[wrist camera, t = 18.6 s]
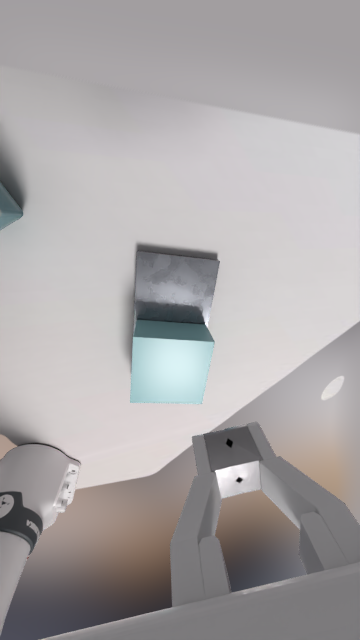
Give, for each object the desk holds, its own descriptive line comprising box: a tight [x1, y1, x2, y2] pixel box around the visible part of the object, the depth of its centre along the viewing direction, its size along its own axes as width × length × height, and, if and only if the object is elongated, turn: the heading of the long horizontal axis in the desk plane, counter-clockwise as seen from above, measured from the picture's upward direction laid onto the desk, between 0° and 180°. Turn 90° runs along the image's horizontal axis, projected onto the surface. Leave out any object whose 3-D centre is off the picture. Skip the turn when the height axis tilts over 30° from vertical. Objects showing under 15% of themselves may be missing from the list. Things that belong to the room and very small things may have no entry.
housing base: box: [133, 251, 220, 335], centre depth 36 cm, size 24×13×6 cm, turn 173°
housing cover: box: [130, 320, 215, 404], centre depth 36 cm, size 12×12×6 cm
